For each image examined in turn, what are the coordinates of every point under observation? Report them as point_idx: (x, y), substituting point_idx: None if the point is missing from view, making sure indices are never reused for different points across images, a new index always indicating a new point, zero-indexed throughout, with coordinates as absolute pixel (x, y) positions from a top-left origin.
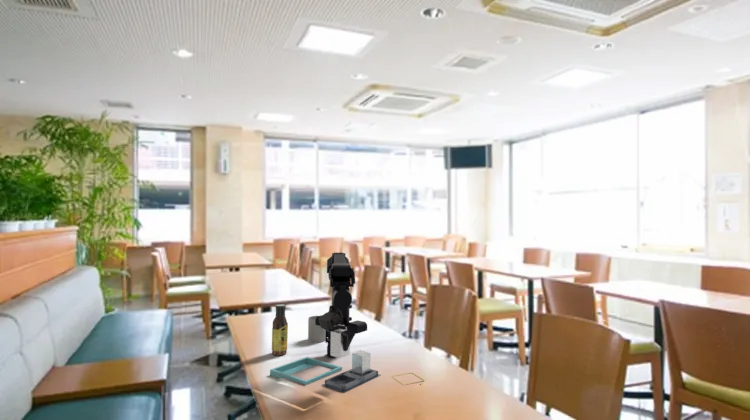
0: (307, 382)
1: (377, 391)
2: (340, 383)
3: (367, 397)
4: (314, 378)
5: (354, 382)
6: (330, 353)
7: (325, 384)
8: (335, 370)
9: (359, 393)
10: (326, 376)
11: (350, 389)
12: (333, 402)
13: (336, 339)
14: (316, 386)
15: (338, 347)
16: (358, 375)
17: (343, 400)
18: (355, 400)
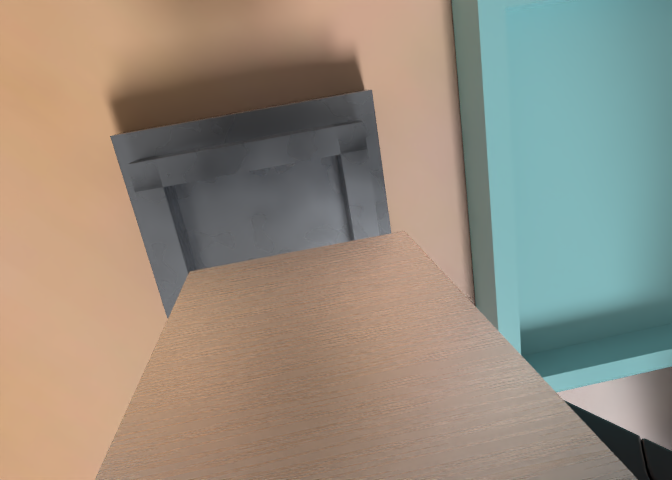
0: (473, 6)
1: (82, 383)
2: (296, 235)
3: (29, 273)
4: (484, 98)
5: (167, 293)
6: (413, 241)
7: (349, 121)
8: None
9: (126, 272)
10: (482, 235)
11: (143, 222)
12: (94, 10)
13: (296, 470)
14: (440, 105)
15: (214, 346)
16: None
17: (82, 100)
18: (29, 172)
